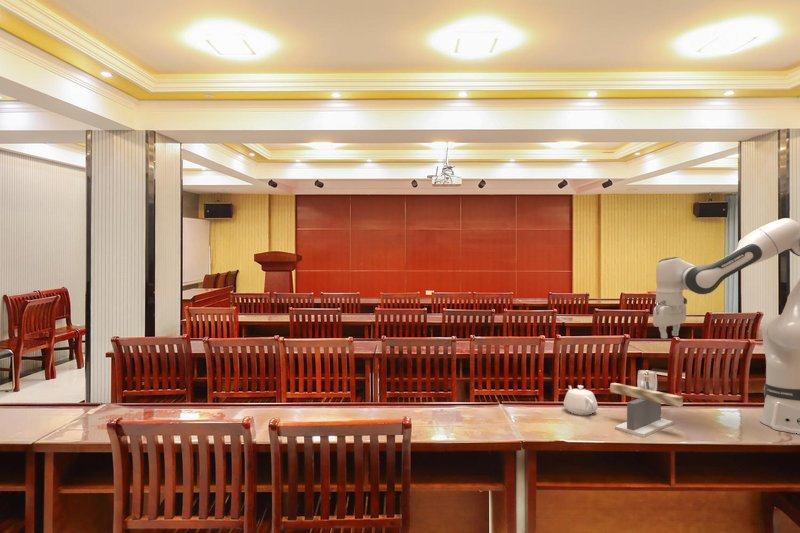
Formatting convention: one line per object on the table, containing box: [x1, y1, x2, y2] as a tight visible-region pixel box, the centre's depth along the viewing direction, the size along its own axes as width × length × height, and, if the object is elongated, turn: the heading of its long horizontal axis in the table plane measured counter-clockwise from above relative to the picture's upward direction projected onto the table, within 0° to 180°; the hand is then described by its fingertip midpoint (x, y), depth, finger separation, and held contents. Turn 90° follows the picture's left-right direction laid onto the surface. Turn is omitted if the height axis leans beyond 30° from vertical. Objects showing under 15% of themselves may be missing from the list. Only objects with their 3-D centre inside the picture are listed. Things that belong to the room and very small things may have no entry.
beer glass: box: [636, 369, 658, 391], centre depth 194 cm, size 7×7×15 cm
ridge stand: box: [614, 398, 674, 438], centre depth 174 cm, size 10×22×10 cm, turn 128°
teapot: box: [563, 384, 599, 416], centre depth 192 cm, size 20×12×10 cm, turn 6°
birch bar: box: [609, 382, 684, 408], centre depth 174 cm, size 24×3×3 cm, turn 38°
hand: (669, 337), depth 185 cm, fingers open, 8 cm apart
